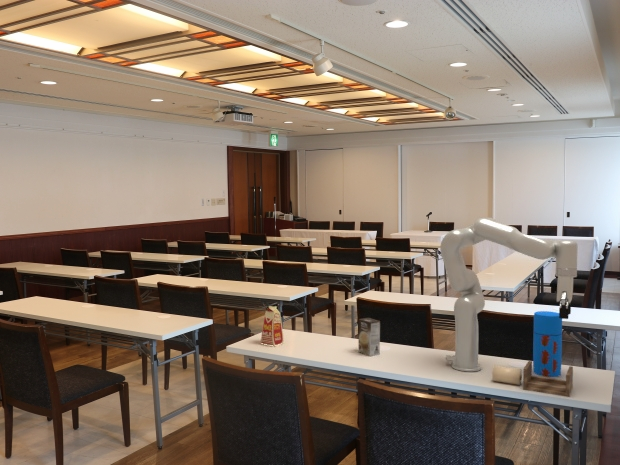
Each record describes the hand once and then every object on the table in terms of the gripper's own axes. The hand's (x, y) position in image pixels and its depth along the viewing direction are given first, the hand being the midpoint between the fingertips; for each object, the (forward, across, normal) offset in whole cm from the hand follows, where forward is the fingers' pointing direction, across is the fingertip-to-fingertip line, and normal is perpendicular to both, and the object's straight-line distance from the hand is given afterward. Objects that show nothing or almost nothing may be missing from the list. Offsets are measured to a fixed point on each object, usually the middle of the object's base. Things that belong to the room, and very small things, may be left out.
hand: (564, 316), depth 215 cm
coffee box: (+28, -4, -84) cm, 89 cm away
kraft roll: (+27, +8, -20) cm, 34 cm away
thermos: (+27, -12, -7) cm, 31 cm away
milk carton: (+28, +3, -135) cm, 137 cm away
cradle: (+27, +8, -5) cm, 28 cm away
